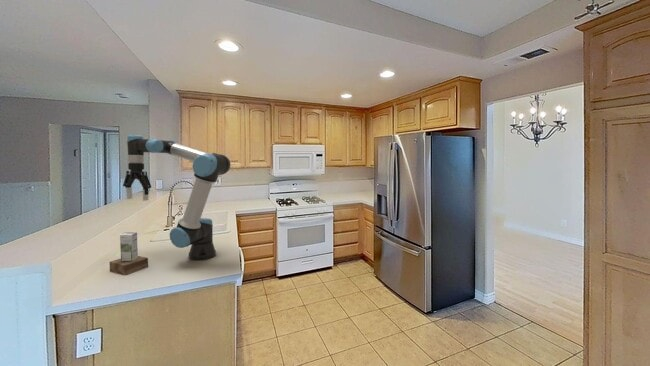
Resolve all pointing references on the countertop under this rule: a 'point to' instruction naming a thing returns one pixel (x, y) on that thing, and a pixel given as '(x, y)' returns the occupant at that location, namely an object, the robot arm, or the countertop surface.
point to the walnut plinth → (128, 265)
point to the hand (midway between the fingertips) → (137, 199)
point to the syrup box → (128, 246)
